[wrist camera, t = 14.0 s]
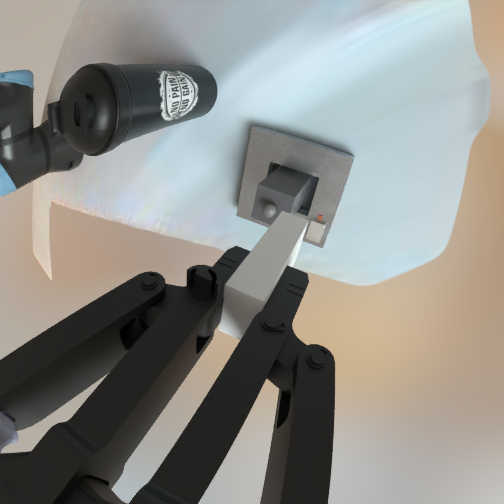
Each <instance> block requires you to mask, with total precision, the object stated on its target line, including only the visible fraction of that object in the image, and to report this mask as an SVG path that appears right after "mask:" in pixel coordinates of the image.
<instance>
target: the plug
mask: <svg viewBox="0 0 504 504" xmlns="http://www.w3.org/2000/svg"><path fill="white" fill-rule="evenodd" d="M311 177H312V175H309V174H306V173H304V172H301V171H298V170H295V169H292V168H289V167H285V166H282V165H281V166H280V167H279V168H277V169H276V170H275V171H274V172H272V173H271V174H270V175H269V176H267V177H266V178H265V179H264V180H262V181H261V182H260V183H259V184H258V187H257V191H256V196H255V200H254V205H253V209H252V214H251V217H252V218H254V219H257V220H259V221H262V222H264V223H267V224H269V225H272V224H273V222H274V221H275V220H276V218H277V217H278V216H279V215H280V213H281V212H282V211H284V212H287V213H290V214H292V215H296V213H297V212H298V210H299V209H300V207H301V206H302V204H303V202H304V199H305V196H306V193H307V190H308V186H309V183H310V180H311Z"/></svg>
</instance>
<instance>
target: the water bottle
mask: <svg viewBox="0 0 504 504" xmlns="http://www.w3.org/2000/svg"><path fill="white" fill-rule="evenodd" d="M216 98H217V85H216V81H215V79H214V77H213V76H212V74H211V73H210V72H209V71H207V70H206V69H204V68H201V67H195V66H181V65H158V64H129V65H113V64H108V63H96V64H89V65H86V66H83V67H82V68H80V69H79V70H78V71H77V72H76V73H75V74H74V75H73V76H72V77H71V78H70V79H69V80H68V82H67V83H66V85H65V87H64V88H63V91H62V93H61V96H60V100H59V101H57V102H54V103H51V104H48V105H47V106H48V110H47V112H48V121H49V129H50V133H51V137H55V136H59V135H62V134H63V136H64V138H65V139H66V141H67V142H68V143H69V145H70V146H71V147H73V148H74V149H75V150H77V151H79V152H81V153H84V154H86V155H89V156H98V155H101V154H103V153H106V152H109V151H111V150H113V149H115V148H116V147H117V146H119V145H120V144H121V143H123V142H126V141H128V140H131V139H133V138H136V137H139V136H142V135H144V134H147V133H150V132H153V131H156V130H159V129H162V128H165V127H168V126H171V125H174V124H177V123H180V122H184V121H187V120H191V119H194V118H198V117H201V116H203V115H205V114H206V113H208V112H209V111H210V110H211V108H212V107H213V105H214V103H215V101H216Z"/></svg>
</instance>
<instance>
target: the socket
mask: <svg viewBox="0 0 504 504" xmlns="http://www.w3.org/2000/svg"><path fill="white" fill-rule="evenodd" d="M354 157H355V156H353V155H350V154H348V153H345V152H342V151H339V150H336V149H333V148H330V147H328V146H325V145H321V144H318V143H315V142H312V141H309V140H306V139H303V138H299V137H296V136H292V135H289V134H285V133H282V132H278V131H275V130H271V129H267V128H263V127H259V126H255V127H252V128H251V133H250V139H249V144H248V150H247V156H246V161H245V167H244V173H243V179H242V185H241V191H240V197H239V203H238V209H237V215H236V216H239V217H242V218H244V219H247V220H250V221H252V222H255V223H258V224H261V225H263V226H266V227H270V226H271V225H269V224H267V223H264V222H262V221H259V220H257V219H254V218H252V217H251V214H252V209H253V205H254V200H255V196H256V191H257V187H258V184H259V183H260V182H261V181H262V180H264V179H265V178H266V177H267V176H269V175H270V174H271V173H272V169H273V164H274V163H276V164H279V165H282V166H285V167H289V168H292V169H295V170H298V171H301V172H304V173H307V174H309V175H312V176H315V177H318V178H319V181H318V185H317V188H316V191H315V195H314V198H313V201H312V204H311V208H310V211H309V210H307V209H304V208H301V207H300V209H299V210H298V212H297V213H296V215H295V216H298V217H301V218H303V219H306V220H309V221H308V224H307V228H306V231H305V234H304V237H303V241H305V242H308V243H310V244H313V245H315V246H318V247H320V248H323V246H324V243H325V241H326V238H327V235H328V233H329V230H330V227H331V224H332V222H333V219H334V216H335V213H336V211H337V208H338V205H339V202H340V199H341V196H342V193H343V190H344V187H345V185H346V182H347V179H348V176H349V172H350V169H351V166H352V163H353V160H354Z"/></svg>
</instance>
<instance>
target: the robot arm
mask: <svg viewBox="0 0 504 504" xmlns="http://www.w3.org/2000/svg"><path fill="white" fill-rule="evenodd" d="M33 90H34V86H33V73H32V72H31V71H29V70H17V71H10V72H5V73H0V196H4V195H7V194H9V193H11V192H13V191H16V190H17V189H19V188H20V187H22V186H24V185H26V184H28V183H30V182H31V181H33V180H35V179H37V178H39V177H41V176H43V175H45V174H47V173H50V172H62V171H69V170H72V169H74V168H76V167H78V166H79V165H80V163H81V161H82V158H83V154H84V153H81V152H79V151H77V150H75V149H74V148H73V147H71V146H70V145H69V143H68V142H67V141H66V139H65V138H64V136H63V134H62V135H59V136H55V137H51V133H50V129H49V121H48V120H47V121H45V122H44V123H43V124H41V125H40V126H38V127H36V128H33ZM308 221H309V220H306V219H303V218H301V217H298V216H295V215H292V214H290V213H287V212H284V211H282V212H281V213H280V215H279V216H278V217H277V218H276V220H275V221H274V222H273V224H272V225H271V226H270V227H269V229H268V230H267V231H266V233H265V234H264V235H263V236H262V238H261V239H260V240H259V242H258V243H257V244H256V245H255V247H254V248H253V249H252V250H251V251H248V250H246V249H243V248H241V247H238V246H235V247H233V248H231V249H228V250H227V251H226V252H225V253H224V255H223V256H222V257H221V258H220V259H219V260H218V261H217V262H216V263H215V265H214V266H213V267H210V266H206V265H196V266H192V267H190V268H189V269H187V286H185V287H181V286H175V285H170V284H166V283H165V279H164V278H163V276H162V275H160V274H159V273H156V272H144V273H141V274H139V275H137V276H135V277H134V278H132V279H130V280H128V281H127V282H125V283H123V284H121V285H120V286H118V287H116V288H115V289H113V290H111V291H110V292H108V293H106V294H104V295H103V296H101V297H99V298H98V299H96V300H94V301H93V302H91V303H90V304H88V305H86V306H84V307H83V308H81V309H80V310H78V311H76V312H75V313H73V314H71V315H70V316H68V317H67V318H65V319H63V320H62V321H60V322H59V323H57V324H55V325H54V326H52V327H51V328H49V329H47V330H46V331H44V332H42V333H41V334H39V335H38V336H36V337H35V338H33V339H32V340H30V341H28V342H27V343H25V344H24V345H22V346H21V347H19V348H18V349H16V350H15V351H13V352H12V353H10V354H9V355H7V356H6V357H4V358H3V359H1V360H0V453H1V450H2V449H3V448H4V447H5V446H7V445H9V444H10V443H16V442H17V441H18V434H17V432H16V431H18V430H22V429H25V428H28V427H30V426H33V425H34V424H36V423H38V422H39V421H41V420H43V419H44V418H46V417H47V416H48V415H50V414H51V413H53V412H54V411H55V410H57V409H58V408H60V407H61V406H63V405H64V404H65V403H67V402H68V401H70V400H71V399H73V398H74V397H75V396H77V395H78V394H80V393H81V392H83V391H84V390H85V389H87V388H88V387H90V386H91V385H92V384H94V383H95V382H96V381H98V380H99V379H101V378H102V377H104V376H105V375H106V374H108V373H109V372H110V373H109V374H108V375H107V376H106V377H105V378H104V380H103V381H102V382H101V383H100V384H99V385H98V387H97V388H96V389H95V390H94V392H93V393H92V394H91V395H90V396H89V397H88V398H87V400H86V401H85V402H84V403H83V404H82V406H81V407H80V408H79V409H78V411H77V412H76V413H75V414H74V415H73V417H72V418H71V419H70V420H68V421H67V422H62V423H58V424H56V425H54V426H52V427H51V428H50V429H49V430H48V432H47V433H46V434H45V435H44V436H43V438H42V439H41V440H40V441H39V443H38V444H37V445H36V446H35V448H34V449H33V450H32V451H30V452H19V453H3V454H0V504H127V503H125V502H123V501H121V500H120V499H119V498H118V497H117V496H116V494H115V493H114V492H113V491H112V490H111V489H112V487H113V486H114V485H115V483H116V482H117V481H118V479H119V478H120V476H121V475H122V473H123V469H124V465H125V463H126V462H127V460H128V459H129V457H130V456H131V455H132V453H133V452H134V450H135V449H136V448H137V446H138V445H139V443H140V442H141V441H142V439H143V438H144V436H145V435H146V434H147V432H148V431H149V429H150V428H151V426H152V425H153V424H154V422H155V421H156V419H157V418H158V417H159V415H160V414H161V412H162V411H163V410H164V408H165V407H166V405H167V404H168V402H169V401H170V400H171V398H172V397H173V395H174V394H175V393H176V391H177V390H178V388H179V387H180V385H181V384H182V382H183V381H184V380H185V378H186V377H187V375H188V374H189V372H190V371H191V369H192V368H193V366H194V365H195V364H196V362H197V361H198V359H199V358H200V356H201V355H202V353H203V352H204V351H205V349H206V348H207V346H208V345H209V343H210V342H211V340H212V339H213V336H214V330H215V329H216V327H217V326H218V325H219V330H220V331H222V332H224V333H226V334H228V335H230V336H233V337H235V338H237V339H239V340H240V342H239V343H238V345H237V347H236V348H235V350H234V352H233V353H232V355H231V357H230V358H229V360H228V362H227V363H226V365H225V367H224V368H223V370H222V371H221V373H220V375H219V376H218V378H217V379H216V381H215V383H214V384H213V386H212V387H211V389H210V391H209V392H208V394H207V396H206V397H205V398H204V400H203V402H202V403H201V405H200V406H199V408H198V409H197V411H196V413H195V414H194V416H193V417H192V419H191V420H190V422H189V423H188V425H187V426H186V428H185V429H184V431H183V433H182V434H181V436H180V437H179V439H178V440H177V442H176V443H175V445H174V446H173V448H172V449H171V451H170V452H169V454H168V455H167V457H166V458H165V459H164V461H163V463H162V464H161V465H160V467H159V468H158V470H157V471H156V473H155V474H154V476H153V477H152V478H151V480H150V481H149V482H148V483H147V484H146V485H145V486H143V488H141V489H140V490H139V491H138V493H136V495H135V496H134V497H133V499H132V500H131V501H130V503H129V504H198V502H199V501H200V499H201V498H202V496H203V494H204V493H205V491H206V489H207V488H208V486H209V484H210V483H211V481H212V479H213V478H214V476H215V474H216V473H217V470H218V469H219V467H220V466H221V464H222V462H223V460H224V459H225V457H226V455H227V453H228V451H229V450H230V448H231V446H232V444H233V442H234V441H235V438H236V437H237V435H238V433H239V431H240V429H241V427H242V426H243V424H244V422H245V420H246V418H247V416H248V414H249V412H250V410H251V408H252V406H253V404H254V402H255V400H256V398H257V396H258V394H259V392H260V390H261V388H262V386H263V384H264V382H265V380H266V378H267V379H268V380H270V381H271V382H272V383H273V384H274V385H275V386H277V387H278V388H279V395H278V402H277V409H276V416H275V423H274V429H273V436H272V441H271V447H270V454H269V459H268V465H267V471H266V476H265V481H264V487H263V492H262V497H261V502H260V504H328V497H329V496H328V495H329V487H330V477H331V465H332V452H333V435H334V409H335V406H334V405H335V361H334V357H333V355H332V354H331V352H330V351H329V350H328V349H326V348H325V347H323V346H320V345H317V344H310V345H306V344H304V343H303V342H302V341H300V339H299V338H297V336H296V335H295V333H294V331H293V329H292V322H293V319H294V317H295V314H296V312H297V309H298V307H299V305H300V302H301V300H302V298H303V295H304V293H305V290H306V288H307V285H308V283H309V280H308V274H307V273H305V272H303V271H300V270H298V269H295V268H293V265H294V263H295V261H296V258H297V255H298V252H299V249H300V246H301V243H302V240H303V237H304V234H305V231H306V228H307V224H308ZM219 323H220V324H219Z"/></svg>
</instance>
